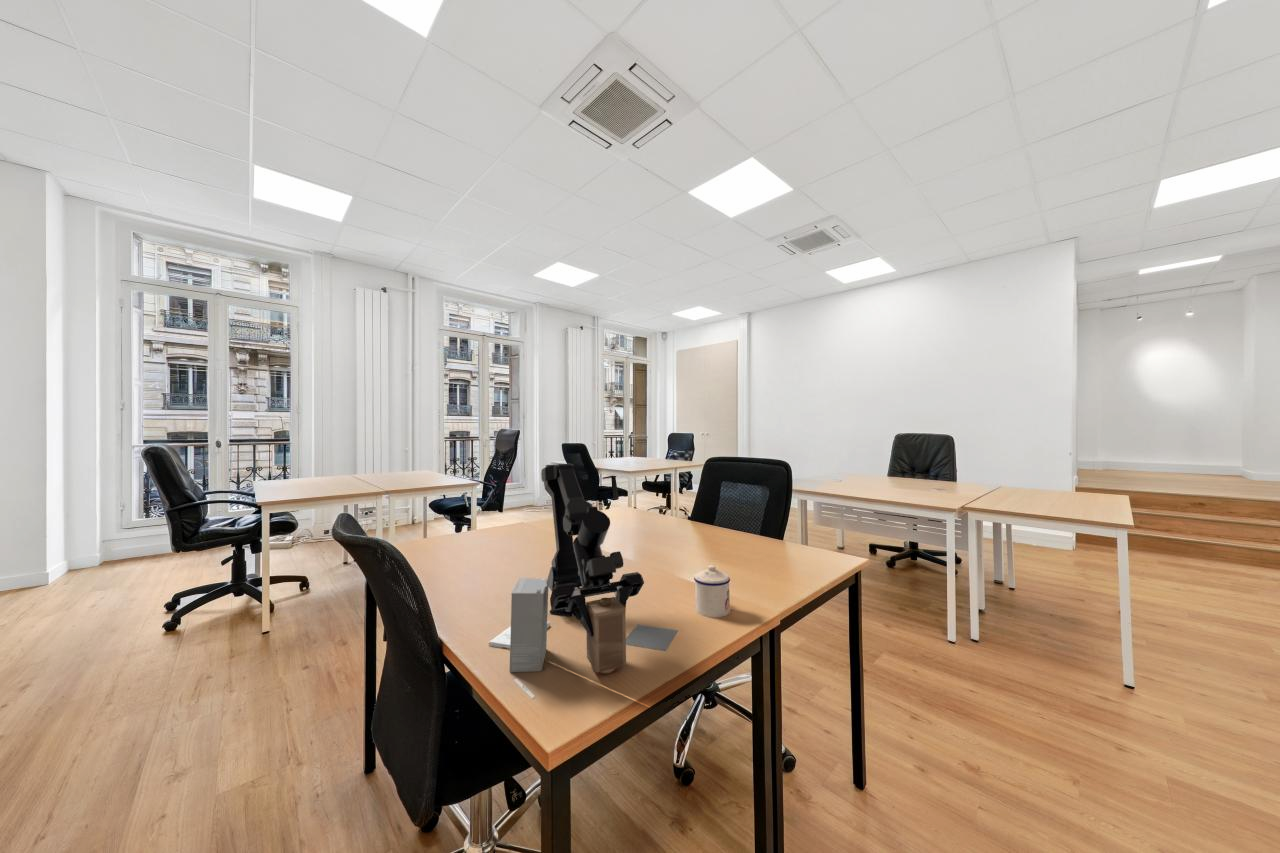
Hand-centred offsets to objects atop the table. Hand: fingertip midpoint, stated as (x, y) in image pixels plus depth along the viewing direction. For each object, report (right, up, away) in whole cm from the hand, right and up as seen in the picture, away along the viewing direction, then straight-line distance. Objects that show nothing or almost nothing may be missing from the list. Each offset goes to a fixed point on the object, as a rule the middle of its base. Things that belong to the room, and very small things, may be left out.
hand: (608, 632), depth 83 cm
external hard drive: (-21, -9, +17) cm, 29 cm away
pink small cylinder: (0, -8, +1) cm, 8 cm away
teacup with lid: (+25, -8, +29) cm, 39 cm away
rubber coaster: (+9, -8, +14) cm, 18 cm away
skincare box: (-16, -9, +5) cm, 19 cm away
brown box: (0, -6, +1) cm, 6 cm away
